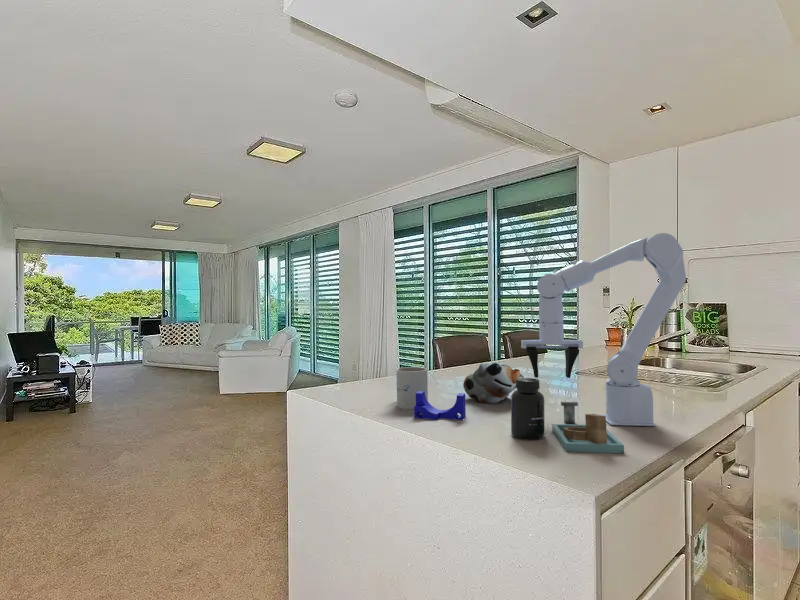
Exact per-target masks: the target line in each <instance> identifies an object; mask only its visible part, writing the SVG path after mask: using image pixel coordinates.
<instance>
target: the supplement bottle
mask: <svg viewBox="0 0 800 600" xmlns="http://www.w3.org/2000/svg"><path fill="white" fill-rule="evenodd" d="M540 388H541V387H540V380H539V379H538V378H533V377H531V378H530V377H524V378H518V379H516V388H515V389H516V390H515V391H512V392H511V393H512V394H511V396H510V409H511V410H510V418H511V419H510V420H511V421H510V422H511V423H510V431H511V432H510V433H511V435H512V436H513V437H514V438H517V439H520V440H526V441H538V440H539V441H540V440H542V439H543V438H544V437H545V430H546V429H545V396H544V395H543V394H542V392H540V391H539V390H540Z"/></svg>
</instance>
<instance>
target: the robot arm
mask: <svg viewBox="0 0 800 600" xmlns="http://www.w3.org/2000/svg"><path fill="white" fill-rule="evenodd" d="M645 259H646V260H647V261H648V263H649V264H650V265H652V267H654V270H655V272H656V274H657V275H656V276H657V277H658V279H659V282H658V284H657V285H656V287H655V289H654V291H653V292H652V294H651V296H650V297H649V299H648V301H647V303H646V305H645V306H644V308H643V310H642V312H641V313H640V315H639V317H638V319H637V320H636V321H635V324H634V325H633V327H632V329H631V331H630V332H629V334H628V336H627V338H626V339H625V341H624V343H622V346H621V347H620V349H619V350H618V352H617V353H615V354H613V355H612V356H611V357H610V358H609V359H608V363H607V367H606V374H607V377H608V378H607V379H605V405H606V406H605V407H606V409H605V410H606V411H605V412H606V413H605V414H601V415H603V416H606V423H608V424H609V425H611V426H638V427H640V426H643V427H644V426H647V427H655V426H656V424H655V423H654V395H653V390H652V388H651V387H650V385H649V384H647V383H641V382H640V380H638V379H637V377H638V374H639V369H638V368H639V365H640V363H641V361H642V359H643V358H644V357H643V356H644V354H645V352H646V350H647V348H648V347H649V345H650V343H651V342H652V340H653V339H654V336H655V335H656V333H657V331H658V330H659V328H660V326H661V324H662V323H663V321H664V320H665V318H666V316H667V315H668V312H669V310H670V309H671V308H672V306H673V304H674V303H675V301H676V299H677V298H678V296H679V294H680V292H681V291H682V289H683V287H684V285H685V283H686V281H687V275H686V269H685V268H686V266H685V262H684V261H685V260H684V250H683V247H682V246H681V244H680V243H679V241H678V240H677V238H676V237H675V236H673V235H672V234H669V233H665V232H661V233H660V232H659V233H656V234H653V235H652V236H650V238H648V237H645V238H642V239H641V238H640V239H638V240H635V241H632V242H630V243H628V244H625V245H624V246H622V247H619V248H617V249H615V250H613V251H611V252H609V253H607V254H604V255H602V256H600V257H599V258H597V259H595V260H592V261H587V260H584V259H583V260H582V259H581V260H579V261H578V260H577V259H575V260H573V261H571V264H570V265H568V266H565V267H562V268H561V269H559V270H558V269H554V270H552V272H553V273H545V274H544V275H543V276H542V277H540V278H539V280H538V281H537V284H536V289H537V292H538V293H539V299H538V300H539V304H538V320H539V321H538V323H539V324H538V325H539V331H538V333H539V339H521V342H520V344H521V345H520V348H521V349H525V352H526V355H527V356H528V359H529V361H530V363H531V367H532V371H533V377H534V379H538V378H539V367H538V366H539V365H538V363H539V362H538V361H539V351H538V349H564V356H565V372H564V373H565V377H566V378H567V379H571V377H572V376H571V375H572V371H573V369H574V368H573V367H574V364H575V362H576V359H577V357H578V356H579V354H580V349H584V348H583V347H584V341H583V340H582V339H564V337H565V336H564V304H563V294H564V291H565V292H570V291H571V292H572V291H573V290H575V289H577V288H579V287H582V286H585V285H588V284H589V283H592V282H593V281H594V279H595V276H596V275H597V274H599V273H602V272H604V271H607V270H609V269H611V268H615V267H617V266H619V265H622V264H624V263H627V262H631V261H632V262H644V260H645Z"/></svg>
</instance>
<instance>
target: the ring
mask: <svg viewBox="0 0 800 600" xmlns="http://www.w3.org/2000/svg"><path fill="white" fill-rule="evenodd" d="M584 415H585V418H584V419H585V425H586V427H564V429H563V433H564V436H565V437H566V438H568V439H573V440H586V441H591V442H595V443H607V431H606V429H607V421H606V416H603V415H604V414H603V415H602V414H596V413H585V414H584Z"/></svg>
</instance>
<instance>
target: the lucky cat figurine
mask: <svg viewBox="0 0 800 600" xmlns="http://www.w3.org/2000/svg"><path fill="white" fill-rule="evenodd" d="M518 378H525V377H524V374H522V373H521V372H520V369H518V368H512V367H511V366H510V365H508V364H506V363H505V362H499V361H498V362H496V361H493V362H488V363H483V362H482V363H480V364H479V366H478V368H477V369H475V371H474V372H473V373H471V374H469V375H468V376H466V377H465V378H464V380H463V389H464V393H465V394H467V396H468V397H469V398H470V399H474V400H475V402H476V403H479V404H497V403H499V402H500V401H503V400H505V399H506V398H507V397H508V396H510V394H511V393H513V392H514V390H515V389H517V388H516V379H518Z"/></svg>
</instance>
